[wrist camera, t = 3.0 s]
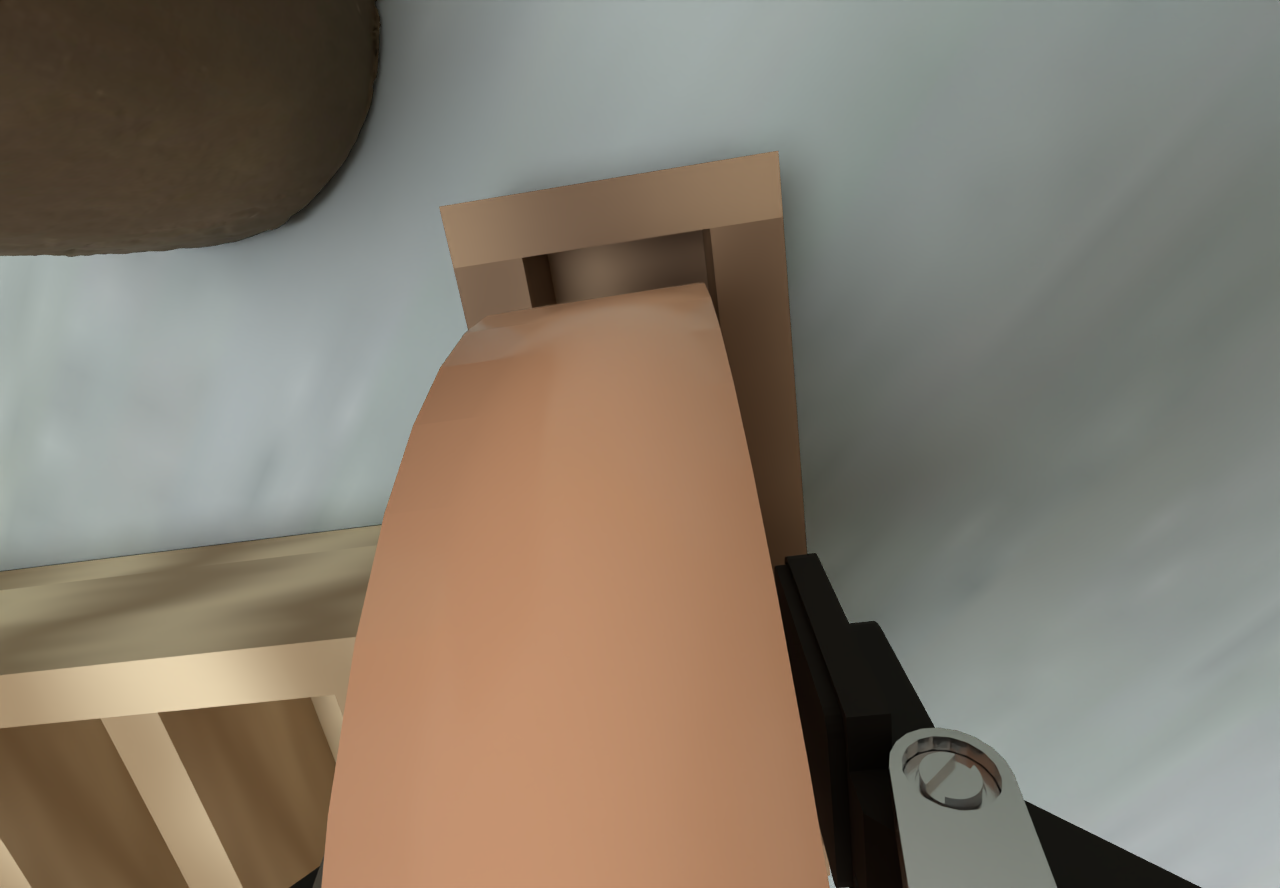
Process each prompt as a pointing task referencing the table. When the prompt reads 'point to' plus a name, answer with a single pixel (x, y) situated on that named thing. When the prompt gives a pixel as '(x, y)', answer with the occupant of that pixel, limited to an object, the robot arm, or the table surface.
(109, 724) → the rack
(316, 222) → the table surface
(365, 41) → the pillar candle
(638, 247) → the narrow wooden tray
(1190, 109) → the table surface
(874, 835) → the robot arm
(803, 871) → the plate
